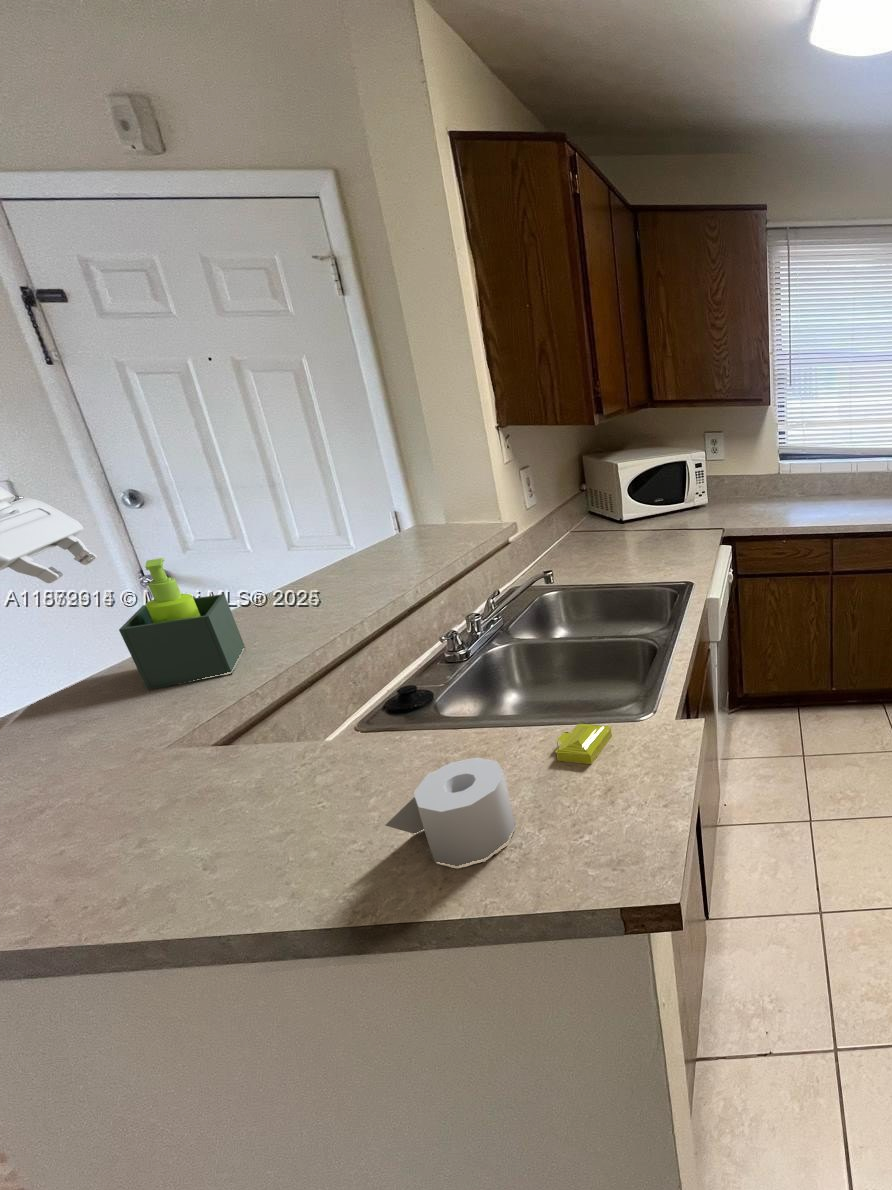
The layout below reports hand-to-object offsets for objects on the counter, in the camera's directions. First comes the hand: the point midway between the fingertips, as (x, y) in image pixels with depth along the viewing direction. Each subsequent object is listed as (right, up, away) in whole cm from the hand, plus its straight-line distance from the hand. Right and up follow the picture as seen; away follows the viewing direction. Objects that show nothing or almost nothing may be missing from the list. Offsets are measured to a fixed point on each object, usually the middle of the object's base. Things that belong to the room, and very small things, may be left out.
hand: (75, 570), depth 100 cm
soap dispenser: (+9, -17, +11) cm, 22 cm away
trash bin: (+9, -17, +11) cm, 23 cm away
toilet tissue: (+78, -34, -25) cm, 89 cm away
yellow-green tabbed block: (+87, -27, -8) cm, 91 cm away
